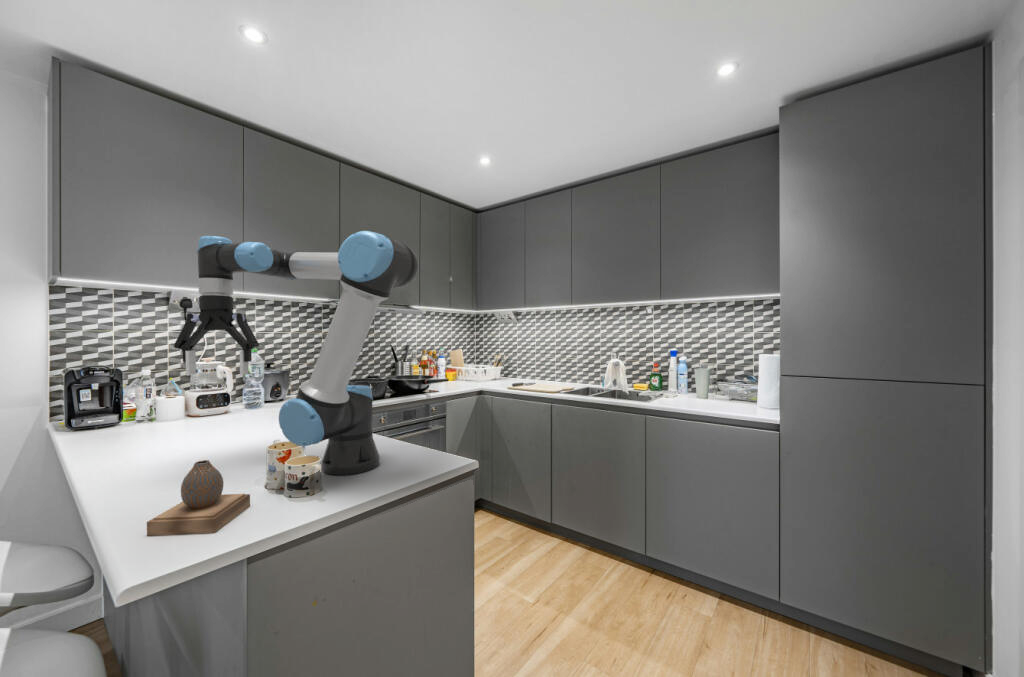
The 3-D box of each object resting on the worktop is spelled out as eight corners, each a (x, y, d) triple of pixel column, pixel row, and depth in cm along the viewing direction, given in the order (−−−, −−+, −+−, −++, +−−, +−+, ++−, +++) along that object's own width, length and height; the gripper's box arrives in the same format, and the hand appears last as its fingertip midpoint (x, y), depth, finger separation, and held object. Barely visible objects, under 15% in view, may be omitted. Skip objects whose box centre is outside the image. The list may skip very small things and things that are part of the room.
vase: (226, 505, 83) (225, 461, 82) (182, 515, 78) (181, 469, 78) (220, 495, 88) (220, 454, 88) (179, 504, 83) (178, 461, 83)
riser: (250, 506, 89) (249, 492, 89) (214, 532, 77) (214, 517, 77) (191, 508, 88) (191, 494, 88) (147, 535, 76) (146, 520, 76)
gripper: (271, 296, 115) (273, 372, 115) (177, 296, 112) (178, 373, 113) (257, 294, 107) (258, 375, 107) (155, 294, 105) (157, 376, 105)
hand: (217, 374), depth 110 cm, fingers open, 13 cm apart
